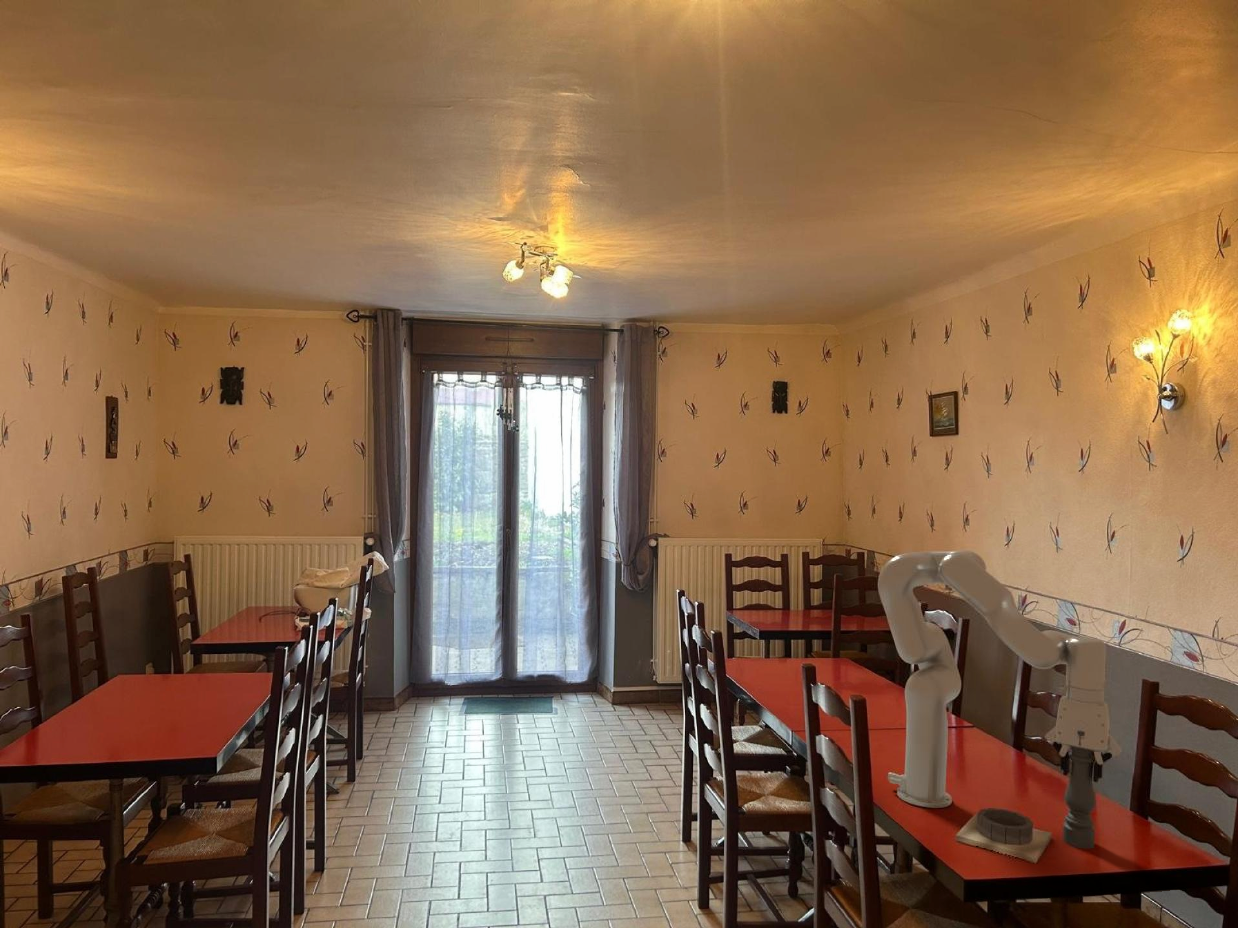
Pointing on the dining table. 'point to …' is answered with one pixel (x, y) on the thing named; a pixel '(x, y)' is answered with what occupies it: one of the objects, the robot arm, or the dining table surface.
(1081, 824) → the dark grey pepper mill
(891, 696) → the dining table surface
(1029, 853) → the collar base
